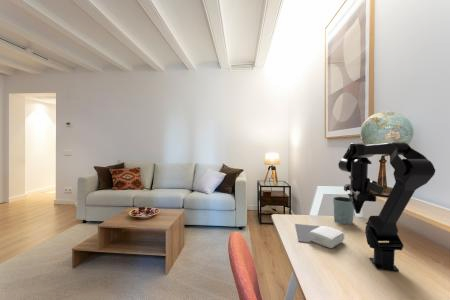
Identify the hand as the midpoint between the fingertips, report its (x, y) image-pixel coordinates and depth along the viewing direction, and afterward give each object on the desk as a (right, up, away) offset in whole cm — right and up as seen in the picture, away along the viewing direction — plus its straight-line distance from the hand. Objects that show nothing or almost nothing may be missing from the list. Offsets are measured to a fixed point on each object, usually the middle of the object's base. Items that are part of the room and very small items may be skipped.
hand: (357, 213), depth 90 cm
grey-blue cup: (+9, -12, +27) cm, 31 cm away
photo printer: (-15, -10, -1) cm, 19 cm away
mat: (-14, -12, +11) cm, 22 cm away
